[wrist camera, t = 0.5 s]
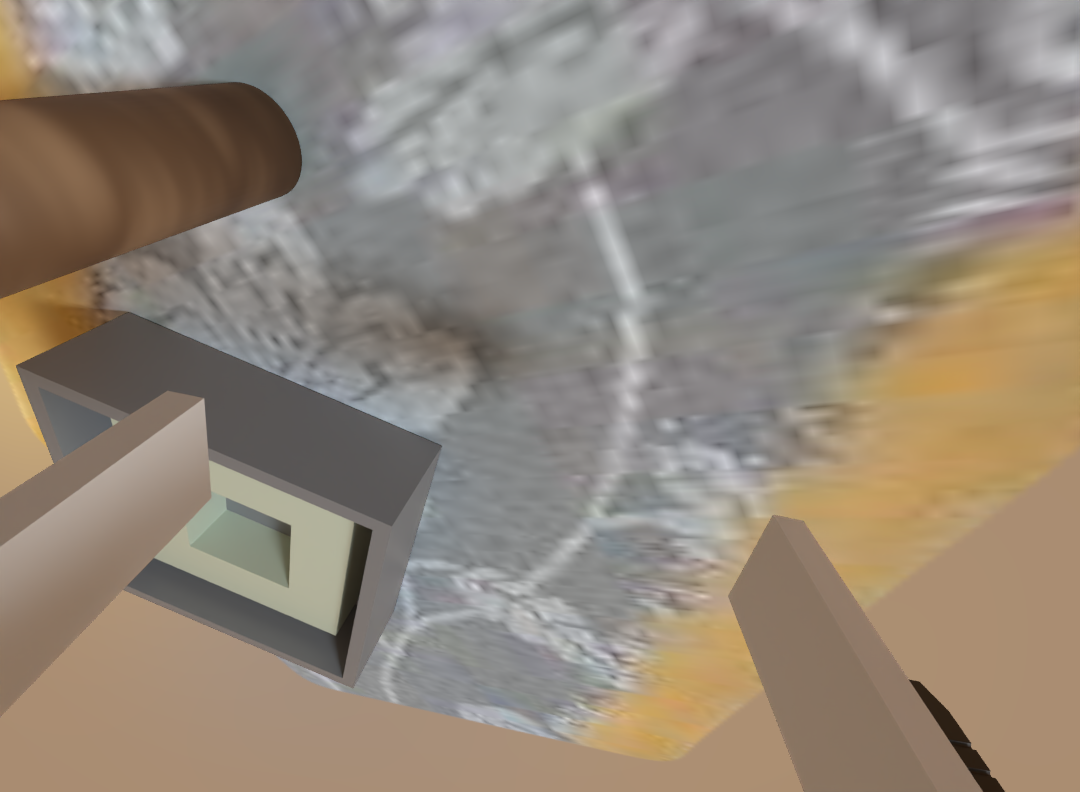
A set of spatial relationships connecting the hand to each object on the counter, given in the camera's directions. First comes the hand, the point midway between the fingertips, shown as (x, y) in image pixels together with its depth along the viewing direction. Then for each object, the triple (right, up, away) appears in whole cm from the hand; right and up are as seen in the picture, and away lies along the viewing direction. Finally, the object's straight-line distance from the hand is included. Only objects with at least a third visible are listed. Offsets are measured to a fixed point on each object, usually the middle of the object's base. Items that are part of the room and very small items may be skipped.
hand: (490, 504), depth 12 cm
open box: (-15, -3, +20) cm, 25 cm away
